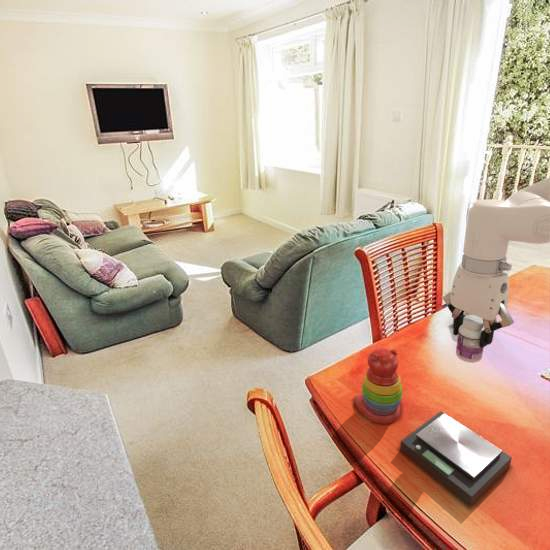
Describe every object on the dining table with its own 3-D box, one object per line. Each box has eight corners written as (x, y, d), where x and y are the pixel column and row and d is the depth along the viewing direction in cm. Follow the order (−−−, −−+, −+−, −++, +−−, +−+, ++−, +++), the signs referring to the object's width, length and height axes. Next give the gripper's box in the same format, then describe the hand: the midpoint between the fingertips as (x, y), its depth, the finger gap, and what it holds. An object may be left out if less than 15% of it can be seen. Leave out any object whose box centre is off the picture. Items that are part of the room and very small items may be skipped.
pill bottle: (456, 347, 87) (460, 311, 83) (482, 352, 85) (488, 315, 81) (454, 360, 83) (459, 323, 79) (481, 366, 81) (488, 327, 77)
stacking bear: (391, 391, 99) (394, 335, 92) (410, 420, 90) (416, 359, 82) (352, 399, 97) (352, 342, 90) (368, 429, 88) (369, 368, 81)
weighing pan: (502, 453, 76) (502, 450, 75) (473, 480, 71) (474, 477, 71) (444, 415, 86) (444, 412, 85) (415, 437, 81) (416, 434, 81)
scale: (509, 467, 76) (512, 456, 75) (469, 507, 70) (472, 495, 68) (439, 420, 89) (440, 410, 87) (400, 450, 82) (400, 439, 81)
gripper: (539, 269, 70) (521, 350, 77) (455, 247, 83) (446, 317, 91) (517, 281, 66) (500, 364, 74) (433, 256, 80) (426, 328, 87)
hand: (471, 338), depth 82 cm, fingers closed on pill bottle, 5 cm apart
